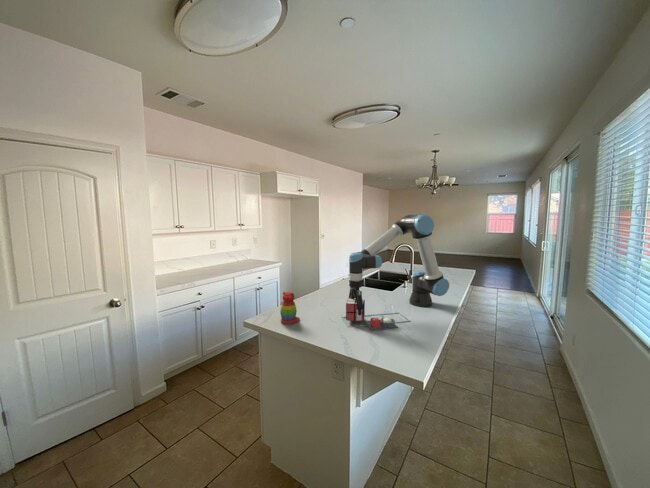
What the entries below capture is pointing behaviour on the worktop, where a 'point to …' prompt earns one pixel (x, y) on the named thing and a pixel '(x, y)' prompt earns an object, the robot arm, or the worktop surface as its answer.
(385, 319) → the plunger
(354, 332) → the worktop surface
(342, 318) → the track
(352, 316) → the puzzle cube
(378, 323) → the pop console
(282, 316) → the stacking bear
